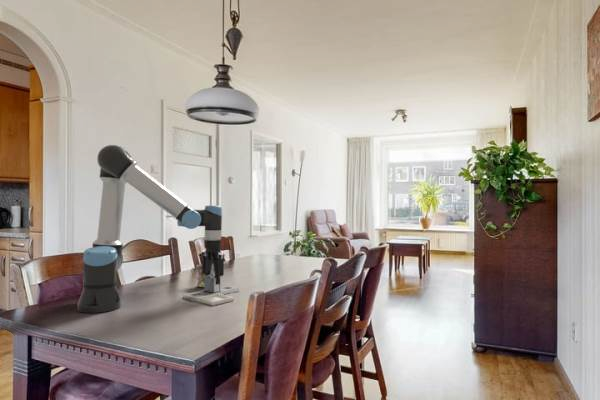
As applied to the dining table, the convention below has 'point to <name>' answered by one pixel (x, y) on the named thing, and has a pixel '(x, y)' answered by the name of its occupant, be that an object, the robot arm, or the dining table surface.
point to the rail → (201, 293)
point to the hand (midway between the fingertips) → (212, 290)
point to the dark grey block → (209, 284)
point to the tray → (214, 299)
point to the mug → (202, 275)
